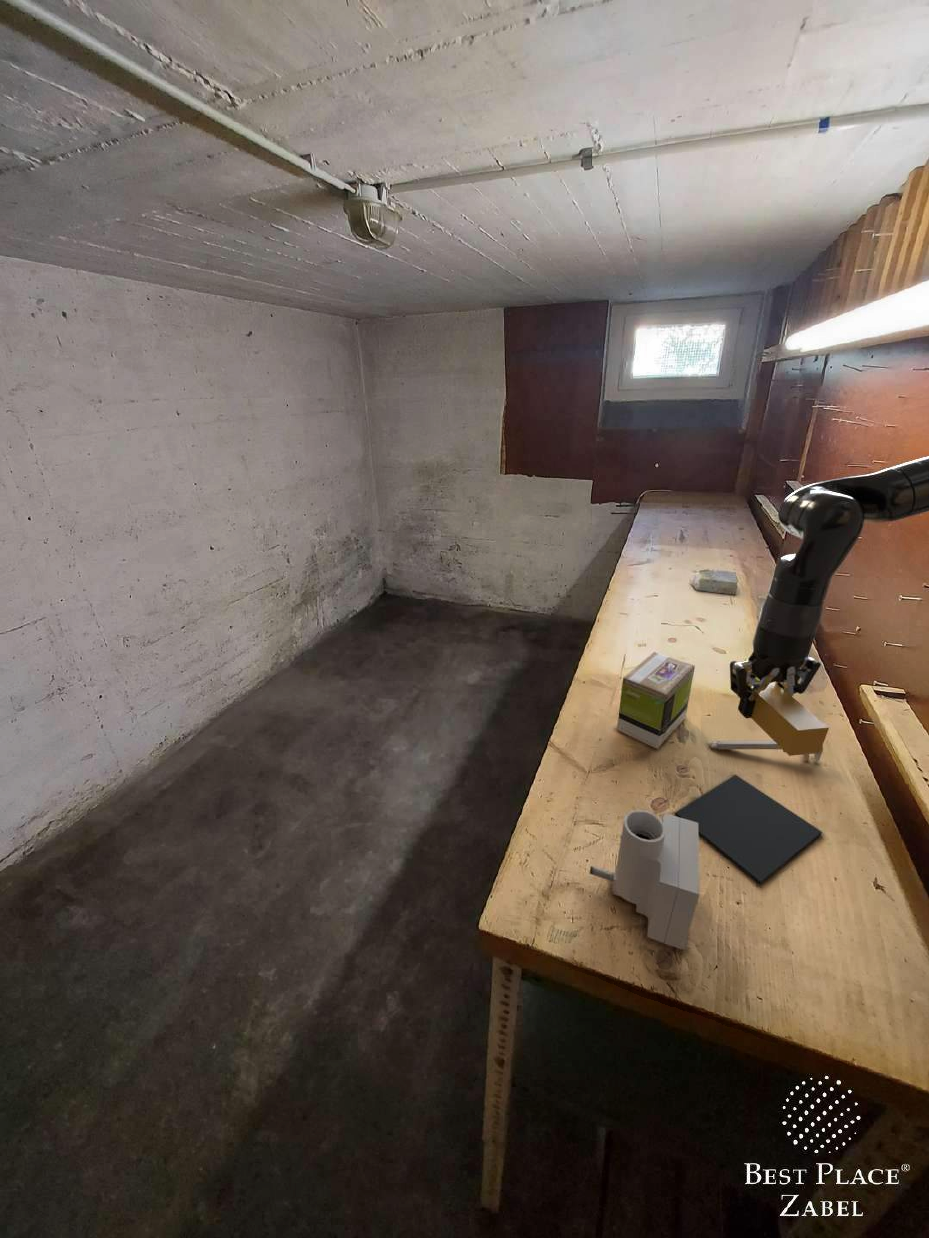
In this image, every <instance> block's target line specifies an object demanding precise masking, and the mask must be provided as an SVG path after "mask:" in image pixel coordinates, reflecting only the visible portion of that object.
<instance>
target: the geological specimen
mask: <svg viewBox="0 0 929 1238" xmlns="http://www.w3.org/2000/svg"><path fill="white" fill-rule="evenodd" d="M738 583H739V579H738V575H737V572H736V571H728V570H718V569H717V570H716V569H709V568H702V569H699V570H697V571H696V572H695V574H694V575H693V579H692V580H691V586H692V587H693V588H695V590H696V591H700V592H706V593H714V594H717V593H718V594H724V595H733V596H734V595H735V594H736V592H737V590H738Z"/></svg>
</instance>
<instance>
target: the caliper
mask: <svg viewBox="0 0 929 1238" xmlns="http://www.w3.org/2000/svg"><path fill="white" fill-rule="evenodd" d="M709 744H710V747H711V748H716V749H717V750H782V752H783V753H786V752H785V751H784V750H783V749H782V748H781V747H780V746H779V745H778V744H777V743H776V742H775V741H774V740H716V742H711V743H709ZM823 751H824V745H823V746H822V748H821V751H820V753H814V754H813V759H814V761H815V762H819V761H820V759H821V757H822V754H823ZM803 758H804V760H805V761H806V762H809V759H810V754H804V755H803Z"/></svg>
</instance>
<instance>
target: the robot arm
mask: <svg viewBox="0 0 929 1238" xmlns="http://www.w3.org/2000/svg"><path fill="white" fill-rule="evenodd" d="M926 512H929V456H924V457H921V458H918V459H914V460H911V461H907V462H904V463H901V464H897V465H894V466H891V467H887V468H885V469H882V470H879V471H875V472H874V473H869V474H864V475H856V476H855V475H854V476H849V477H847V476H846V477H842V478H836V479H830V480H825V481H820V482H816V483H812V484H808V485H806V486H803V487H801V488H798V489H797V490H795V491H794V492H792V493H791V494H789V495H788V496H787V497H786V498H785V499H784V500H783V502H782V503H781V505H780V507H779V509H778V511H777V519H778V523H779V524H780V526H781V527H782V528H783V530H784V531H786V532H787V533H789V534H790V535H792V536H795V537H797V538H799V539H801V544H800V546H799V549H798V550H797V552H796V553H789V554H786V555H783V556H781V557H780V558H779V559H778V560H777V562H776V564H775V566H774V569H773V573H772V577H771V580H770V584H769V587H768V591H767V593H766V596H765V599H764V600H763V603H762V605H761V610H760V613H759V616H758V621H757V624H756V628H755V631H754V635H753V640H752V649H753V650H752V653H751V655H750V656H749V657H748V658H749V659H748V661H745V662H744V661H741V662H738V661H737V660H732V661H730V663H729V678H730V680H729V681H730V691H732V692H733V693H734V694H735V695H736V696H737V697H738V698H739V702H738V706H737V711H738V712H739V713H740V715H742V716H743V717H744V718H745V719H752V718H751V717H752V713H753V710H754V706H755V703H756V701H755V699H756V698H757V696H758V695H759V693H760V692H761V691H764V690H765V689H766V688H767V686H768V685H769V683H772V682H775V683H776V684H777V685H778V686H780V687H781V688H782V689H783V690H784V691H785V692H787V693H788V694H789V695H791V696H792V697H793V696H794V695H795V694H799V695H800V694H801V695H802V694H804V693H805V692H806V690H807V689H808V687H809V685H810V684H811V682H812V680H813V679H814V677H815V676H816V674H817V673H818V671H819V669H820V668H821V665H822V664H821V663H820V662H819V661H817V660H816V659H815V658H814V657H811V656H810V652H811V649H812V646H813V643H814V641H815V636H816V634H817V631H818V628H819V625H820V622H821V619H822V615H823V608H824V603H825V600H826V597H827V594H828V592H829V588H830V585H831V581H832V578H833V576H834V574H836V571H837V570H838V569H839V567H840V566H841V565H842V564H843V562H844V561H845V560H846V558H847V556H848V555H849V553H850V552H851V551H852V549H853V547H854V546H855V545H856V543H857V542H858V540H859V538H860V537H861V534H862V532H863V530H864V527H865V522H866V523H867V522H868V523H874V524H886V523H887V524H888V523H891V522H896V521H900V520H902V519H906V518H910V517H913V516H916V515H920V514H924V513H926ZM749 670H750V671H749ZM756 677H757V678H758V679H759V680H761V681H760V682H759V681H758V680H757V679H756ZM800 679H801V681H800ZM799 681H800V682H799ZM752 686H753V689H752V690H751V691H750V688H751V687H752Z"/></svg>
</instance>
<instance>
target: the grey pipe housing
mask: <svg viewBox="0 0 929 1238" xmlns="http://www.w3.org/2000/svg"><path fill="white" fill-rule="evenodd" d="M619 839H620V840H619V841H620V842H619V848H618V856H617V860H616V865H615V868H614V872H611V871H608V870H605V869H601V868H600V867H599V868H598V867H595V866H593V865H591V866H590V869H589V875H592V876H595V877H598V878H601V879H603V880H607V881H610V882H612V887H611V891H612V892H613V895H615V896H617V897H621V898H622V899H624V900H625V901H627V902H629V903H632V904H633V905H636V907H635V908H636V909H635V912H636V913H638V914H641V915H643V916H645V917H646V918H647V931H646V932H647V934H646V937H647V938H649V939H652V940H654V941H657V942H659V943H662V944H664V945H667V946H670V947H674V948H676V949H680V950H683V951H684V949H685V946H686V942H687V939H688V936H689V933H690V929H691V925H692V923H693V918H694V916H695V915H694V914H695V913H696V912H695V911H696V909H697V905H698V901H699V897H700V844H699V834H698V823H697V822H693V821H690V820H687V819H683V818H680V817H677V816H676V815H672V814H668V813H664V812H663V816H662V819H661V818H660V817H659V816H658V815H656V814H655V813H653V812H651V811H649V810H645V809H632V810H630V811H628V812H627V813H626V814H625V816H624V818H623V824H622V829H621V835H620V837H619Z"/></svg>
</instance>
